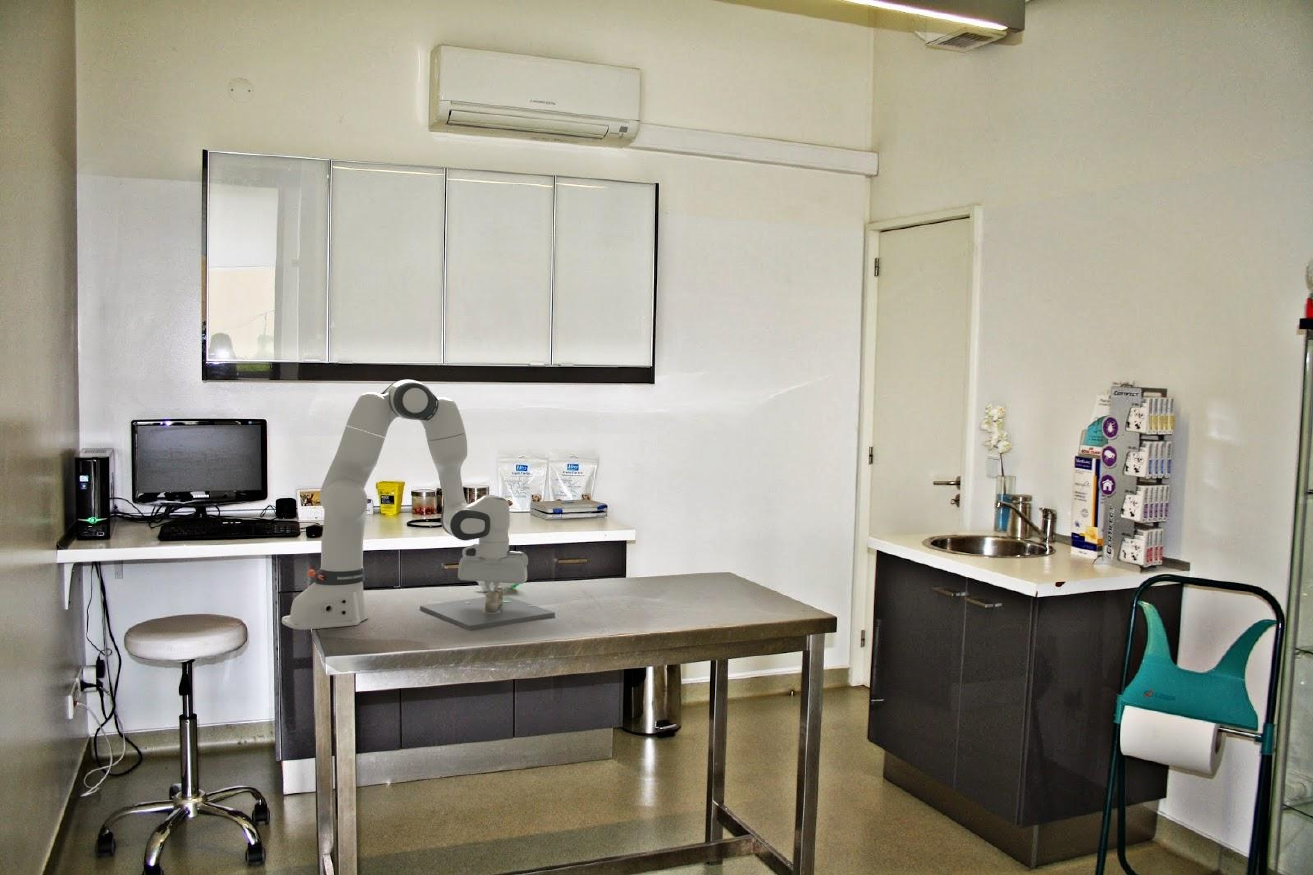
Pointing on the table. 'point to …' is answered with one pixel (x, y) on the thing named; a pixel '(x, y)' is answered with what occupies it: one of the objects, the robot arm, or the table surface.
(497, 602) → the brown rectangular block
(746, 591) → the table surface
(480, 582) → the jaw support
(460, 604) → the board
